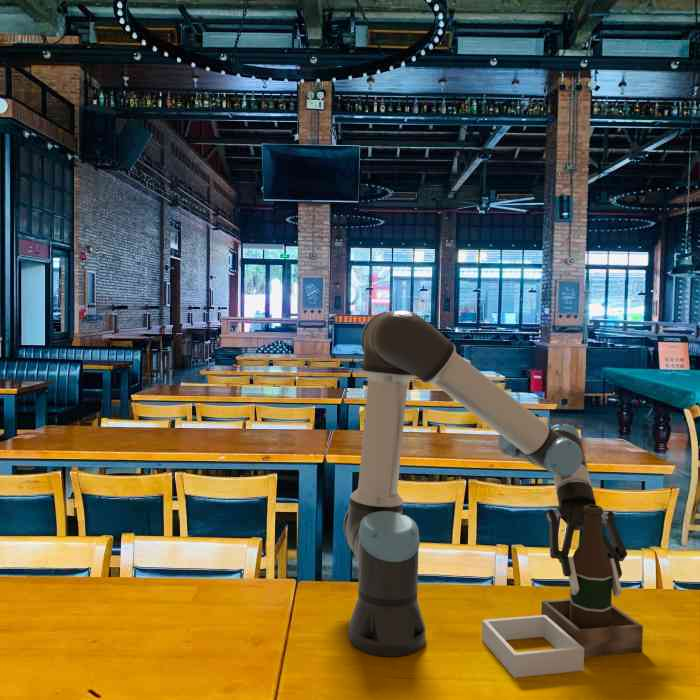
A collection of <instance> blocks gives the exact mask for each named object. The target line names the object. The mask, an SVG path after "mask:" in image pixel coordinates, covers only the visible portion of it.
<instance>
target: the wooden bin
mask: <svg viewBox="0 0 700 700" xmlns="http://www.w3.org/2000/svg"><path fill="white" fill-rule="evenodd" d="M540 610H541V613H540V615H546V616H547V617H549V618H550V619H551V620H552V621H553V622H554V623H555V624H557V625H558V626H559V627H560V628H561V629H562V630H564V631H565V632H566V633H567V634H568V635H569V636H570V637H572V638H573V639H574V640H575V641H576V642H577V643H579V644H580V645H581V646H582V647H583V648H584V659H585V658H593V657H601V656H602V657H603V656H613V655H623V654H632V653H633V654H634V653H642V652H643V639H644V637H643V636H644V635H643V633H644V626H643V625H642V624H640V623H639V622H638V621H637V620H635V619H634V618H632V617H631V616H629V615H628V614H626V613H625V612H624V611H622V610H621V609H619V608H617V607H616V606H615V605H614V604H612V603H611V622H610V627H603V628H591V629H579V628H578V627H577V626H575V625H574V624H573V623H572V622H571V620H570V598H561V599H547V600H541V609H540Z"/></svg>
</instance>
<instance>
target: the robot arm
mask: <svg viewBox="0 0 700 700" xmlns="http://www.w3.org/2000/svg"><path fill="white" fill-rule="evenodd" d="M360 344H361V349H362V352H363V357H362V358H363V359H362V368H361V369H362V370H361V372H362V373H363V374H364V376H365V377H366V379H367V388H366V389H367V390H366V398H365V399H366V400H365V409H364V410H365V411H364V422H363V430H362V431H363V434H362V442H361V443H362V445H361V453H360V462H359V463H360V464H359V472H358V473H359V475H358V485H357V489H355V490H354V491H353V492H352V493H351V494H350V495H349V505H348V509H347V511H346V512H345V515H344V519H343V534H344V538H345V541H346V542H347V545H348V547H350V550H351V551H352V553H353V554H354V556H355V558H356V560H357V562H358V584H357V585H358V592H357V593H358V595H357V599H356V602H355V606H354V608H353V611H352V614H351V617H350V620H349V623H348V640H349V642H350V644H352V646H353V647H355V648H356V649H358V650H360V651H362V652H365V653H367V654H371V655H374V656H379V657H400V656H406V655H410V654H413V653H416V652H417V651H419V650H420V649H421V648H423V646H425V643H426V633H427V632H426V630H427V629H426V626H425V622H424V618H423V615H422V611H421V609H420V604H419V601H418V588H419V587H418V584H419V583H418V582H419V580H418V579H419V552H420V551H419V548H420V542H421V541H420V535H419V528H418V527H419V526H418V525H417V523H416V522H415V520H414V519H413V518H412V517H410V516H408V515H406V514H403V509H404V500H403V498H402V496H401V495H400V494H399V493H398V487H399V477H400V467H401V466H400V465H401V455H402V446H403V434H404V433H403V432H404V424H405V414H406V413H405V412H406V403H407V393H408V384H409V382H410V381H411V380H413V379H415V378H418V379H419V380H420V381H421V382H422V383H424V384H429V383H433V384H434V385H435V386H436V387H437V388H439V389H440V390H441V391H442V392H444V393H445V394H447V395H448V396H449V397H451V398H452V399H453V400H454V401H456V402H458V404H460V405H461V406H463V407H464V408H465V409H466V410H468V411H469V412H470V413H471V414H473V415H474V416H475V417H477V418H478V419H479V420H481V422H484V423H485V424H486V425H487V426H488V427H490V428H491V429H492V430H494V431H495V432H497V434H499V436H498V448H499V451H500V452H501V454H503V455H506V456H508V457H511V458H516V459H520V460H523V461H525V462H527V463H529V464H532V465H534V466H537V467H540V468H541V469H544V470H546V471H548V472H549V473H550V474H552V476H553V481H554V487H555V490H556V497H557V502H558V507H559V508H558V510H553V509H552V508H550V509H549V510H548V512H547V513H546V516H545V517H546V520H547V523H548V526H549V529H548V530H549V555H550V558H551V559H557V560H558V562H559V564H560V565H561V569H562V574H563V576H564V577H568V580H569V581H568V582H569V586H570V587H571V592H572V595H576V594H577V592H578V591H579V586H578V581H577V576H576V571H575V566H574V561H573V556H569V554H570V550H571V546H572V541H573V536H574V533H575V531H580V530H582V531H583V526H584V516H585V512H584V510H583V509H584V506H586V505H597V502H596V499H595V494H594V490H593V487H592V481H591V478H590V474H589V470H588V465H587V462H586V457H585V453H584V448H583V441H582V440H581V437H580V434H579V432H578V429H576V427H574V426H573V425H571V424H568V423H563V424H555V425H552V426H549V425H548V423H546V422H544V421H543V420H542V419H541V418H539V417H538V416H537V415H535V414H534V413H533V412H532V411H531V410H529V409H528V408H526V406H524V405H523V404H522V403H520V402H519V401H518V400H517V399H515V398H514V397H513V396H511V395H510V394H509V393H508V392H506V391H505V390H504V389H502V388H501V387H500V386H499V385H498V384H496V383H495V382H494V381H492V380H491V379H490V378H489V377H487V376H486V375H485V374H484V373H483V372H481V371H480V370H479V369H478V368H476V367H475V366H473V364H472V363H470V362H468V360H466V359H465V358H464V357H462V356H461V355H459V354H458V353H457V349H456V345H455V344H454V343H453V342H452V341H450V340H449V339H448V338H447V337H445V336H444V335H443V334H442V333H441V332H440V331H439V330H438V329H436V328H435V327H434V326H433V325H432V324H430V323H429V322H428V321H427V320H425V318H423V317H421V316H420V315H419V314H417V313H415V312H412V311H410V310H395V311H394V310H393V311H391V310H390V311H387V310H386V311H384V312H379V313H378V314H375V315H374V316H373V317H372V318H370V319H369V320H368V321H367V322H366V324H365V325H364V326H363V329H362V331H361V337H360ZM560 518H561V519H562V520H563V522H564V523H565V524H567V525H566V529H565V535H564V538H563V542H562V547H561V550H560V549H559V548H560V545H559V543H560V542H559V523H558V522H559V519H560ZM602 525H604V528H605V530H606V533H607V535H608V537H609V539H608V537H607V536H606V535H605V533H604V532H603V530H602V539H603V547H604V550H605V552H606V553H607V555H608V557H609V559H610V562H611V565H612V593H613V597H615V598H618V597H619V596H620V594H622V592H623V590H622V586H621V581H620V579H621V578H622V575H623V571H622V568H621V567H622V566H621V563H620V562H624V560H625V559H626V557H627V555H628V551H627V550H626V548H625V547H626V546H625V545H624V542H623V540H622V537H621V534H620V532H619V530H618V528H617V525H616V522H615V513H614V512H613V511H608V512H603V514H602Z"/></svg>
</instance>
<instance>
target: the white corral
mask: <svg viewBox="0 0 700 700" xmlns="http://www.w3.org/2000/svg"><path fill="white" fill-rule="evenodd" d="M481 622H482V623H481V641H482V642H483V643H484V645H485V646H486V647H487V648H488V649H489V651H491V653H492V654H493V655H494V656H495V657H496V659H497V660H499V662H500V663H501V664H502V666H503V667H504V668H505V669H506V670H507V671H508V673H509V674H510V675H511V676H512V678H514V679H515V678H524V677H533V676H534V677H535V676H543V675H552V674H561V673H571V672H572V673H573V672H583V671H584V669H585V667H584V666H585V658H584V648H583V647H582V646H581V645H580V644H579V643H577V642H576V641H575V640H574V639H573V638H572V637H570V636H569V635H568V634H567V633H566V632H565V631H564V630H562V629H561V628H560V627H559V626H558V625H557V624H555V623H554V622H553V621H552V620H551V619H550V618H549V617H547V616H546V615H541V614H536V615H527V616H525V615H524V616H516V617H501V618H490V619H482V620H481ZM540 637H541V638H542V637H543V638H544V639H545V640H547V642H549V644H550V645H552V647H553V648H551V649H540V650H528V651H519V652H517V651H516V650H515V649H514V648H513V647H512V645H510V643H508V642H507V641H509V640H510V641H511V640H523V639H530V638H532V639H533V638H540Z"/></svg>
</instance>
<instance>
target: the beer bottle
mask: <svg viewBox="0 0 700 700" xmlns="http://www.w3.org/2000/svg"><path fill="white" fill-rule="evenodd" d="M583 510H584V512H585V516H584V526H583V530H582V536H581V537H582V538H581V542H580V545H579V546H578V547H577V548H576V549H575V551H574V553H573V555H572V557H573V561H574V566H575V571H576V576H577V581H578V586H579V591H578V592H577V594H576V595H572V592H571V587H570V588H569V589H570V591H569V599H570V620H571V622H572V623H573V624H574V625H575V626H577V627H578V628H579V629H591V628H603V627H610V622H611V604H612V593H613V590H612V565H611V562H610V559H609V557H608V555H607V553H606V552H605V550H604V547H603V539H602V531H603V522H602V514H603V513H604V510H603V507H602V506H600V505H597V504H596V505H586V506H584V509H583Z"/></svg>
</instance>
